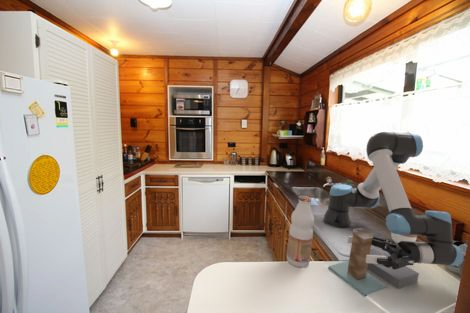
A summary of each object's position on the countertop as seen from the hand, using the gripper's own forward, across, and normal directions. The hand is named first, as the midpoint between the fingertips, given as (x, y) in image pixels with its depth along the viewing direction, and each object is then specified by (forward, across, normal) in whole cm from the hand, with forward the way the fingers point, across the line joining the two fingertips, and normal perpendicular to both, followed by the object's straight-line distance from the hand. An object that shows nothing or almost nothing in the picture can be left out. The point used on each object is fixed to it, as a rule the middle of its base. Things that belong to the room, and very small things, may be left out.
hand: (356, 248), depth 85 cm
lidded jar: (-40, +31, -13) cm, 52 cm away
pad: (-1, 0, -12) cm, 12 cm away
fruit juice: (+19, +8, -12) cm, 24 cm away
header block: (-15, +6, -12) cm, 20 cm away
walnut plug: (-1, 0, -11) cm, 11 cm away
